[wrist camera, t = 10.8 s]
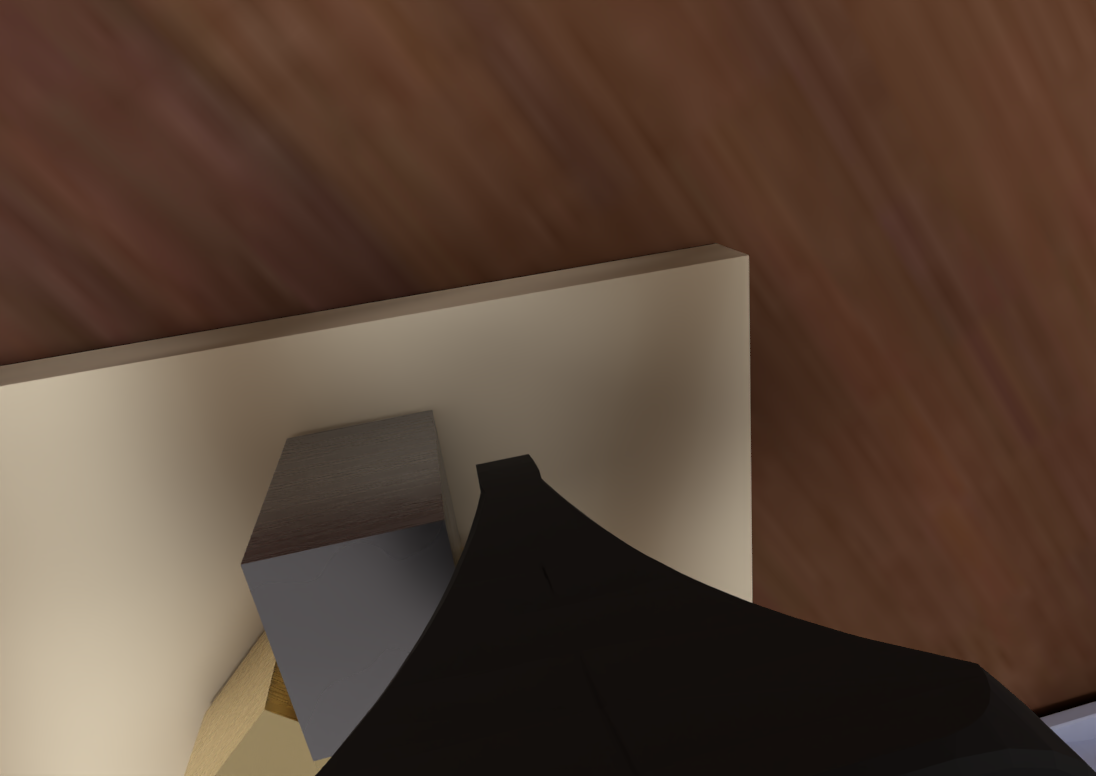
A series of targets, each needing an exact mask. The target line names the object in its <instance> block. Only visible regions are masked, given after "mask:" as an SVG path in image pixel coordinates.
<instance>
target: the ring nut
mask: <svg viewBox="0 0 1096 776" xmlns="http://www.w3.org/2000/svg"><path fill="white" fill-rule="evenodd" d="M463 549H464V547H461V542H460V537H459V533H458V528H457V523H456V519H455V514H454V509H453V505H452V500H451V495H450V490H449V486H448V481H447V476H446V472H445V467H444V462H443V457H442V453H441V448H440V443H439V439H438V434H437V429H436V425H435V420H434V415H433V410H429V411H423V412H418V413H413V414H408V415H403V416H398V417H393V418H388V419H383V420H378V421H373V422H368V423H362V424H357V425H352V426H347V427H342V428H337V429H332V430H327V431H322V432H317V433H312V434H307V435H302V436H296V437H291V438H287V440H286V443H285V445H284V448H283V451H282V453H281V456H280V459H279V462H278V464H277V467H276V470H275V472H274V475H273V478H272V481H271V483H270V486H269V489H268V491H267V494H266V497H265V500H264V502H263V505H262V508H261V510H260V513H259V516H258V519H257V521H256V524H255V527H254V529H253V532H252V535H251V538H250V540H249V543H248V546H247V548H246V551H245V554H244V557H243V559H242V562H241V568H242V570H243V573H244V576H245V578H246V581H247V584H248V586H249V589H250V592H251V595H252V597H253V600H254V603H255V605H256V608H257V611H258V613H259V616H260V619H261V622H262V624H263V627H264V630H265V631H264V633H263V634H262V635H261V637H260V638H259V639H258V641H257V642H256V643H255V645H254V646H253V648H252V649H251V650H250V652H249V653H248V654H247V656H246V657H245V659H244V660H243V661H242V663H241V664H240V665H239V667H238V668H237V670H236V671H235V672H234V674H233V675H232V676H231V678H230V679H229V681H228V682H227V683H226V685H225V686H224V687H223V689H222V690H221V691H220V693H219V694H218V696H217V697H216V698H215V700H214V701H213V702H212V704H211V705H210V707H209V708H208V709H207V711H206V712H205V714H204V717H203V720H202V723H201V726H200V729H199V732H198V735H197V738H196V741H195V744H194V747H193V750H192V753H191V756H190V759H189V762H188V765H187V768H186V771H185V774H184V776H315V775H316V774H317V773H318V772H319V771H320V770H321V768H322V767H323V766H324V765H325V764H326V763H327V762H328V760H329V759H330V758H331V757H332V756H333V754H334V753H335V752H336V751H337V749H338V748H339V747H340V746H341V744H342V743H343V742H344V741H345V740H346V738H347V737H348V736H349V735H350V733H351V732H352V731H353V730H354V728H355V727H356V726H357V725H358V724H359V722H360V721H361V720H362V719H363V717H364V716H365V715H366V714H367V712H368V711H369V710H370V709H371V708H372V706H373V705H374V704H375V702H376V701H377V700H378V698H379V697H380V696H381V694H382V693H383V692H384V690H385V689H386V687H387V686H388V685H389V683H390V682H391V680H392V679H393V678H394V676H395V675H396V673H397V672H398V670H399V669H400V667H401V665H402V664H403V662H404V661H405V659H406V658H407V656H408V655H409V653H410V652H411V650H412V649H413V647H414V645H415V644H416V642H417V641H418V639H419V638H420V636H421V634H422V633H423V631H424V629H425V627H426V626H427V624H428V622H429V620H430V619H431V617H432V615H433V613H434V612H435V610H436V608H437V606H438V604H439V602H440V600H441V598H442V596H443V594H444V592H445V590H446V588H447V586H448V584H449V582H450V580H451V577H452V575H453V573H454V570H455V568H456V566H457V563H458V561H459V558H460V556H461V554H462V551H463Z"/></svg>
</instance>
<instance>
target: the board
mask: <svg viewBox="0 0 1096 776" xmlns="http://www.w3.org/2000/svg"><path fill="white" fill-rule="evenodd" d="M429 410H433V415H434V420H435V425H436V429H437V434H438V439H439V443H440V448H441V453H442V457H443V462H444V467H445V472H446V476H447V481H448V486H449V490H450V495H451V500H452V505H453V509H454V514H455V519H456V523H457V528H458V533H459V537H460V542H461V547H465V544H466V541H467V539H468V536H469V532H470V529H471V526H472V523H473V520H474V517H475V513H476V510H477V506H478V502H479V498H480V493H481V491H480V486H479V480H478V475H477V469H476V465H477V464H482V463H487V462H492V461H496V460H501V459H506V458H511V457H516V456H521V455H526V454H529V455H530V456H531V458H532V459H533V460H534V462H535V463H536V465H537V467H538V469H539V470H540V475H541V478H542V479H543V480H544V481H545V482H546V483H547V484H548V485H549V486H551V487H552V488H553V489H554V490H555V491H556V492H557V493H559V494H560V495H561V496H562V497H563V498H565V499H566V500H567V501H568V502H570V503H571V504H572V505H573V506H575V507H576V508H577V509H579V510H580V511H581V512H582V513H584V514H585V515H586V516H588V517H589V518H590V519H592V520H593V521H594V522H596V523H597V524H599V525H600V526H601V527H603V528H604V529H606V530H607V531H609V532H610V533H612V534H613V535H615V536H616V537H618V538H619V539H621V540H622V541H624V542H625V543H627V544H628V545H630V546H632V547H633V548H635V549H637V550H638V551H640V552H642V553H644V554H645V555H647V556H649V557H651V558H653V559H655V560H657V561H659V562H661V563H663V564H665V565H667V566H669V567H671V568H673V569H674V570H676V571H678V572H680V573H682V574H684V575H686V576H689V577H691V578H693V579H695V580H698V581H700V582H702V583H704V584H706V585H709V586H711V587H714V588H716V589H719V590H721V591H724V592H726V593H729V594H731V595H734V596H736V597H739V598H741V599H743V600H746V601H748V602H751V603H752V512H751V410H750V309H749V255H747V254H744V253H742V252H739V251H736V250H733V249H731V248H728V247H725V246H722V245H720V244H717V243H716V244H711V245H705V246H699V247H693V248H687V249H681V250H676V251H670V252H664V253H658V254H652V255H646V256H641V257H635V258H629V259H623V260H617V261H611V262H606V263H600V264H594V265H588V266H582V267H576V268H571V269H565V270H559V271H553V272H547V273H541V274H536V275H530V276H524V277H518V278H512V279H506V280H500V281H495V282H489V283H483V284H477V285H471V286H465V287H460V288H454V289H448V290H442V291H436V292H430V293H425V294H419V295H413V296H407V297H401V298H395V299H390V300H384V301H378V302H372V303H366V304H360V305H355V306H349V307H343V308H337V309H331V310H325V311H319V312H314V313H308V314H302V315H296V316H290V317H284V318H279V319H273V320H267V321H261V322H255V323H249V324H244V325H238V326H232V327H226V328H220V329H214V330H209V331H203V332H197V333H191V334H185V335H179V336H174V337H168V338H162V339H156V340H150V341H144V342H138V343H133V344H127V345H121V346H115V347H109V348H103V349H98V350H92V351H86V352H80V353H74V354H68V355H63V356H57V357H51V358H45V359H39V360H33V361H28V362H22V363H16V364H10V365H4V366H0V776H184V774H185V771H186V768H187V765H188V762H189V759H190V756H191V753H192V750H193V747H194V744H195V741H196V738H197V735H198V732H199V729H200V726H201V723H202V720H203V717H204V714H205V712H206V711H207V709H208V708H209V707H210V705H211V704H212V702H213V701H214V700H215V698H216V697H217V696H218V694H219V693H220V691H221V690H222V689H223V687H224V686H225V685H226V683H227V682H228V681H229V679H230V678H231V676H232V675H233V674H234V672H235V671H236V670H237V668H238V667H239V665H240V664H241V663H242V661H243V660H244V659H245V657H246V656H247V654H248V653H249V652H250V650H251V649H252V648H253V646H254V645H255V643H256V642H257V641H258V639H259V638H260V637H261V635H262V634H263V633H264V631H265V630H264V627H263V624H262V622H261V619H260V616H259V613H258V611H257V608H256V605H255V603H254V600H253V597H252V595H251V592H250V589H249V586H248V584H247V581H246V578H245V576H244V573H243V570H242V568H241V562H242V559H243V557H244V554H245V551H246V548H247V546H248V543H249V540H250V538H251V535H252V532H253V529H254V527H255V524H256V521H257V519H258V516H259V513H260V510H261V508H262V505H263V502H264V500H265V497H266V494H267V491H268V489H269V486H270V483H271V481H272V478H273V475H274V472H275V470H276V467H277V464H278V462H279V459H280V456H281V453H282V451H283V448H284V445H285V443H286V440H287V438H291V437H296V436H302V435H307V434H312V433H317V432H322V431H327V430H332V429H337V428H342V427H347V426H352V425H357V424H362V423H368V422H373V421H378V420H383V419H388V418H393V417H398V416H403V415H408V414H413V413H418V412H423V411H429Z"/></svg>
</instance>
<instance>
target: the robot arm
mask: <svg viewBox="0 0 1096 776" xmlns="http://www.w3.org/2000/svg"><path fill="white" fill-rule="evenodd" d="M476 469H477V475H478V480H479V486H480V491H481V493H480V498H479V502H478V506H477V510H476V513H475V517H474V520H473V523H472V526H471V529H470V532H469V536H468V539H467V541H466V544H465V547H464V549H463V551H462V554H461V556H460V558H459V561H458V563H457V566H456V568H455V570H454V573H453V575H452V577H451V580H450V582H449V584H448V586H447V588H446V590H445V592H444V594H443V596H442V598H441V600H440V602H439V604H438V606H437V608H436V610H435V612H434V613H433V615H432V617H431V619H430V620H429V622H428V624H427V626H426V627H425V629H424V631H423V633H422V634H421V636H420V638H419V639H418V641H417V642H416V644H415V645H414V647H413V649H412V650H411V652H410V653H409V655H408V656H407V658H406V659H405V661H404V662H403V664H402V665H401V667H400V669H399V670H398V672H397V673H396V675H395V676H394V678H393V679H392V680H391V682H390V683H389V685H388V686H387V687H386V689H385V690H384V692H383V693H382V694H381V696H380V697H379V698H378V700H377V701H376V702H375V704H374V705H373V706H372V708H371V709H370V710H369V711H368V712H367V714H366V715H365V716H364V717H363V719H362V720H361V721H360V722H359V724H358V725H357V726H356V727H355V728H354V730H353V731H352V732H351V733H350V735H349V736H348V737H347V738H346V740H345V741H344V742H343V743H342V744H341V746H340V747H339V748H338V749H337V751H336V752H335V753H334V754H333V756H332V757H331V758H330V759H329V760H328V762H327V763H326V764H325V765H324V766H323V767H322V768H321V770H320V771H319V772H318V773H317V774H316V775H315V776H1096V701H1094V702H1091V703H1088V704H1084V705H1081V706H1078V707H1074V708H1071V709H1068V710H1064V711H1061V712H1058V713H1054V714H1051V715H1048V716H1044V717H1041V718H1039V717H1038V716H1037V715H1036V714H1035V713H1034V712H1033V711H1032V710H1031V709H1029V708H1028V707H1027V706H1026V705H1025V704H1024V703H1023V702H1022V701H1020V700H1019V699H1018V698H1017V697H1016V696H1015V695H1014V694H1012V693H1011V692H1010V691H1009V690H1008V689H1007V688H1005V687H1004V686H1003V685H1002V684H1001V683H1000V682H999V681H997V680H996V679H995V678H994V677H993V676H991V675H990V674H989V673H988V672H986V671H985V670H984V669H983V668H982V667H980V666H979V665H978V664H976V663H972V662H967V661H963V660H958V659H954V658H950V657H945V656H941V655H936V654H932V653H928V652H923V651H919V650H914V649H910V648H906V647H901V646H897V645H892V644H888V643H884V642H879V641H875V640H870V639H866V638H862V637H858V636H855V635H851V634H847V633H844V632H841V631H837V630H834V629H831V628H827V627H824V626H821V625H817V624H814V623H811V622H807V621H804V620H801V619H797V618H794V617H791V616H788V615H785V614H782V613H779V612H776V611H773V610H771V609H768V608H765V607H762V606H759V605H756V604H754V603H751V602H748V601H746V600H743V599H741V598H739V597H736V596H734V595H731V594H729V593H726V592H724V591H721V590H719V589H716V588H714V587H711V586H709V585H706V584H704V583H702V582H700V581H698V580H695V579H693V578H691V577H689V576H686V575H684V574H682V573H680V572H678V571H676V570H674V569H673V568H671V567H669V566H667V565H665V564H663V563H661V562H659V561H657V560H655V559H653V558H651V557H649V556H647V555H645V554H644V553H642V552H640V551H638V550H637V549H635V548H633V547H632V546H630V545H628V544H627V543H625V542H624V541H622V540H621V539H619V538H618V537H616V536H615V535H613V534H612V533H610V532H609V531H607V530H606V529H604V528H603V527H601V526H600V525H599V524H597V523H596V522H594V521H593V520H592V519H590V518H589V517H588V516H586V515H585V514H584V513H582V512H581V511H580V510H579V509H577V508H576V507H575V506H573V505H572V504H571V503H570V502H568V501H567V500H566V499H565V498H563V497H562V496H561V495H560V494H559V493H557V492H556V491H555V490H554V489H553V488H552V487H551V486H549V485H548V484H547V483H546V482H545V481H544V480H543V479H542V478H541V475H540V470H539V469H538V467H537V465H536V463H535V462H534V460H533V459H532V458H531V456H530V455H529V454H526V455H521V456H516V457H511V458H506V459H501V460H496V461H492V462H487V463H482V464H477V465H476Z"/></svg>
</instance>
